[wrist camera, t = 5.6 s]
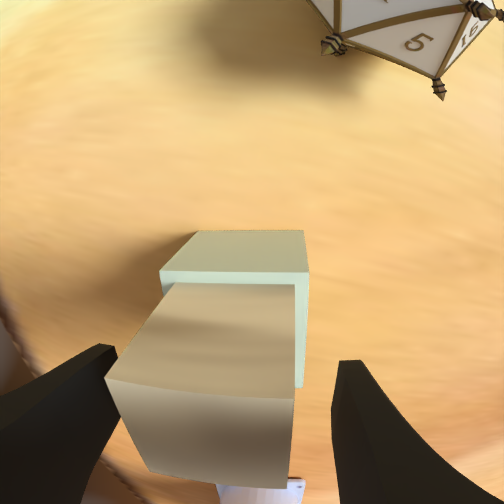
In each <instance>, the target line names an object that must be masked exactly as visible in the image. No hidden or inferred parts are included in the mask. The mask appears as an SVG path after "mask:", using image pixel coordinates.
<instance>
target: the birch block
mask: <svg viewBox="0 0 504 504" xmlns="http://www.w3.org/2000/svg"><path fill="white" fill-rule="evenodd" d="M104 379H105V381H106V383H107V386H108V388H109V391H110V393H111V395H112V398H113V400H114V402H115V405H116V407H117V409H118V411H119V413H120V415H121V418H122V420H123V422H124V424H125V426H126V428H127V430H128V432H129V434H130V436H131V438H132V440H133V442H134V444H135V446H136V448H137V450H138V452H139V453H140V455H141V457H142V459H143V461H144V463H145V464H146V466H147V468H148V470H149V471H150V472H154V473H158V474H163V475H167V476H172V477H177V478H182V479H188V480H193V481H199V482H206V483H213V484H220V485H229V486H238V487H250V488H265V489H287V482H288V472H289V461H290V451H291V439H292V427H293V413H294V399H295V284H227V283H186V282H175V283H174V285H173V286H172V287H171V289H170V290H169V291H168V292H167V294H166V295H165V296H164V298H163V299H162V300H161V302H160V303H159V304H158V306H157V307H156V308H155V309H154V311H153V312H152V313H151V315H150V316H149V317H148V319H147V320H146V321H145V323H144V324H143V325H142V327H141V328H140V329H139V331H138V332H137V333H136V335H135V336H134V337H133V339H132V340H131V341H130V343H129V344H128V346H127V347H126V348H125V350H124V351H123V352H122V354H121V355H120V356H119V358H118V359H117V361H116V362H115V363H114V365H113V366H112V368H111V369H110V370H109V372H108V373H107V374H106V376H105V377H104Z"/></svg>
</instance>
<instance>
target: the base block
mask: <svg viewBox="0 0 504 504" xmlns="http://www.w3.org/2000/svg"><path fill="white" fill-rule="evenodd" d="M159 273H160V279H161V285H162V291H163V297H164V296H165V295H166V294H167V292H168V291H169V290H170V289H171V287H172V286H173V285H174V283H175V282H186V283H227V284H295V388H303V378H304V364H305V350H306V334H307V315H308V293H309V267H308V259H307V252H306V244H305V237H304V230H235V231H198V232H197V233H196V234H195V235H194V236H193V237H192V238H191V239H190V240H189V241H188V242H187V243H186V244H185V245H184V246H183V247H182V248H181V249H180V250H179V251H178V252H177V253H176V254H175V255H174V256H173V257H172V258H171V259H170V260H169V261H168V262H167V263H166V264H165V265H164V266H163V267H162V268H161V269H160V270H159Z"/></svg>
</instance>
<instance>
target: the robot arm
mask: <svg viewBox="0 0 504 504" xmlns="http://www.w3.org/2000/svg"><path fill="white" fill-rule="evenodd" d="M117 359H118V356H117V353H116V350H115V347H114V346H112V345H106V344H100V343H99V344H97V345H95V346H93V347H91V348H89V349H87V350H85V351H83V352H82V353H80V354H78V355H76V356H75V357H73V358H71V359H70V360H68V361H66V362H65V363H63V364H61V365H59V366H58V367H56V368H54V369H53V370H51V371H49V372H48V373H46V374H44V375H42V376H40V377H38V378H37V379H35V380H33V381H31V382H29V383H27V384H26V385H23V386H22V387H20V388H18V389H16V390H13V391H11V392H9V393H7V394H4V395H2V396H0V504H80V503H81V500H82V497H83V494H84V491H85V488H86V485H87V482H88V480H89V477H90V475H91V473H92V470H93V468H94V466H95V464H96V462H97V460H98V459H99V457H100V455H101V453H102V451H103V449H104V447H105V446H106V444H107V442H108V440H109V438H110V437H111V435H112V433H113V431H114V429H115V427H116V425H117V424H118V422H119V420H120V418H121V415H120V413H119V411H118V409H117V407H116V405H115V402H114V400H113V398H112V395H111V393H110V391H109V388H108V386H107V383H106V381H105V379H104V377H105V376H106V374H107V373H108V372H109V370H110V369H111V368H112V366H113V365H114V363H115V362H116V361H117ZM331 430H332V444H333V451H334V459H335V466H336V473H337V481H338V489H339V497H340V504H504V501H502V500H500V499H498V498H496V497H495V496H493V495H491V494H489V493H488V492H486V491H485V490H483V489H482V488H480V487H479V486H478V485H476V484H475V483H473V482H472V481H471V480H469V479H468V478H466V477H465V476H464V475H462V474H461V473H459V472H458V471H457V470H456V469H455V468H453V467H452V466H451V465H450V464H449V463H447V462H446V461H445V460H444V459H443V458H442V457H441V456H440V455H439V454H438V453H436V452H435V451H434V450H433V449H432V448H431V447H430V446H429V445H428V444H427V443H426V442H425V441H424V440H423V439H422V437H421V436H420V435H419V434H418V433H417V432H416V431H415V430H414V429H413V428H412V426H411V425H410V424H409V423H408V422H407V421H406V419H405V418H404V417H403V416H402V415H401V413H400V412H399V411H398V410H397V408H396V407H395V406H394V405H393V403H392V402H391V401H390V400H389V398H388V397H387V396H386V394H385V393H384V392H383V390H382V389H381V387H380V386H379V385H378V383H377V382H376V380H375V379H374V378H373V376H372V375H371V373H370V372H369V370H368V369H367V367H366V366H365V364H364V363H363V362H362V361H361V360H345V361H339V366H338V372H337V378H336V384H335V390H334V395H333V401H332V406H331ZM215 485H216V488H217V491H218V495H219V498H220V503H219V504H301V501H302V497H303V492H304V488H305V480H303V479H288V482H287V489H265V488H250V487H238V486H229V485H220V484H215Z"/></svg>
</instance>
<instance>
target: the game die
mask: <svg viewBox="0 0 504 504" xmlns="http://www.w3.org/2000/svg"><path fill="white" fill-rule="evenodd" d="M306 1H307V2H308V3H309V5H310V6H311V7H312V8H313V10H314V11H315V12H316V14H317V15H318V16H319V18H320V19H321V20H322V22H323V23H324V24H325V26H326V27H327V28H328V30H329V31H330V32H331V34H332V35H331V36H326V39H325V40H324V41H323V40H322V41H321V45H322V55H326V54H331V55H332V54H334V53H335V56H337V55H343V54H345V51H347V46H348V47H351V48H354V49H357V50H360V51H363V52H366V53H369V54H372V55H375V56H377V57H380V58H383V59H386V60H388V61H391V62H393V63H396V64H398V65H401V66H403V67H406V68H408V69H410V70H413V71H415V72H417V73H419V74H422V75H424V76H426V77H428V78H430V79H432V81H433V86H432V88H433V89H434V92H433V94H436V95H437V96H438V97H439V98H440V99H441V100H442V101H443V100H444V97H445V93H446V92H447V90H445V88H444V86H445V84H443V83H442V81H441V79H440V77H441V76H442V75H443V74H444V73H445V72H446V71H447V70H448V69H449V67H450V66H451V65H452V64H453V63H454V62H455V61H456V60H457V59H458V58H459V56H460V55H461V54H462V53H463V52H464V51H465V50H466V49H467V47H468V46H469V45H470V44H471V43H472V42H473V41H474V40H475V39H476V37H477V36H478V35H479V34H480V33H481V32H482V31H483V30H484V28H485V27H486V26H487V25H488V24H489V23H490V22H491V20H492V19H493V18H494V17H495V16H496V17H497V18H498V19H499V21H503V22H504V11H503V10H502V9H500V10H497V9H496V8H495V5H494V2H493V0H306ZM322 55H321V56H322Z"/></svg>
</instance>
